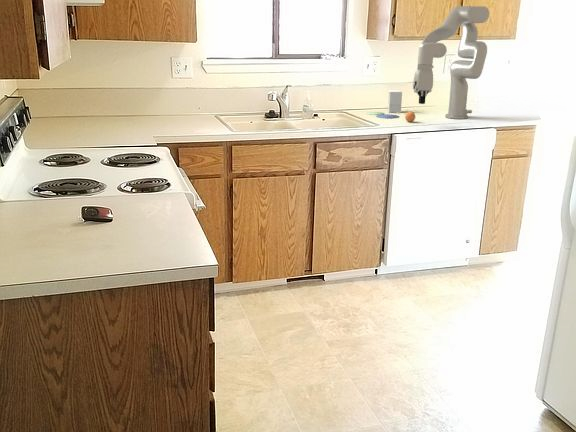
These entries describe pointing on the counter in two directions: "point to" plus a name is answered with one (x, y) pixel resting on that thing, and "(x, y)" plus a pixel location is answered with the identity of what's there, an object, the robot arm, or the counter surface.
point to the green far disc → (375, 113)
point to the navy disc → (387, 116)
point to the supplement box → (395, 101)
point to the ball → (410, 116)
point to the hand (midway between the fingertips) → (421, 103)
